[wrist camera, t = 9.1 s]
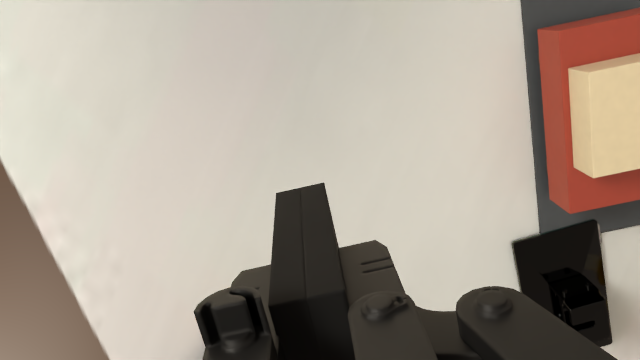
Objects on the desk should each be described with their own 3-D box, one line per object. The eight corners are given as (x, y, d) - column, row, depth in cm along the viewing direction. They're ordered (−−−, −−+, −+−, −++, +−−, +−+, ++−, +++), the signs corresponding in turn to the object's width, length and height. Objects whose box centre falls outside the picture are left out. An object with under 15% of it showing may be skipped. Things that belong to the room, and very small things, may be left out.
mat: (520, -7, 38) (521, -7, 38) (741, -55, 38) (744, -55, 38) (540, 244, 45) (541, 245, 44) (731, 204, 44) (733, 205, 44)
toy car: (579, 32, 32) (702, 6, 32) (529, 28, 39) (631, 6, 39) (588, 228, 36) (698, 205, 36) (542, 194, 43) (635, 174, 43)
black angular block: (510, 241, 44) (535, 267, 40) (597, 216, 44) (631, 240, 40) (533, 362, 48) (558, 398, 44) (613, 340, 48) (646, 374, 44)
